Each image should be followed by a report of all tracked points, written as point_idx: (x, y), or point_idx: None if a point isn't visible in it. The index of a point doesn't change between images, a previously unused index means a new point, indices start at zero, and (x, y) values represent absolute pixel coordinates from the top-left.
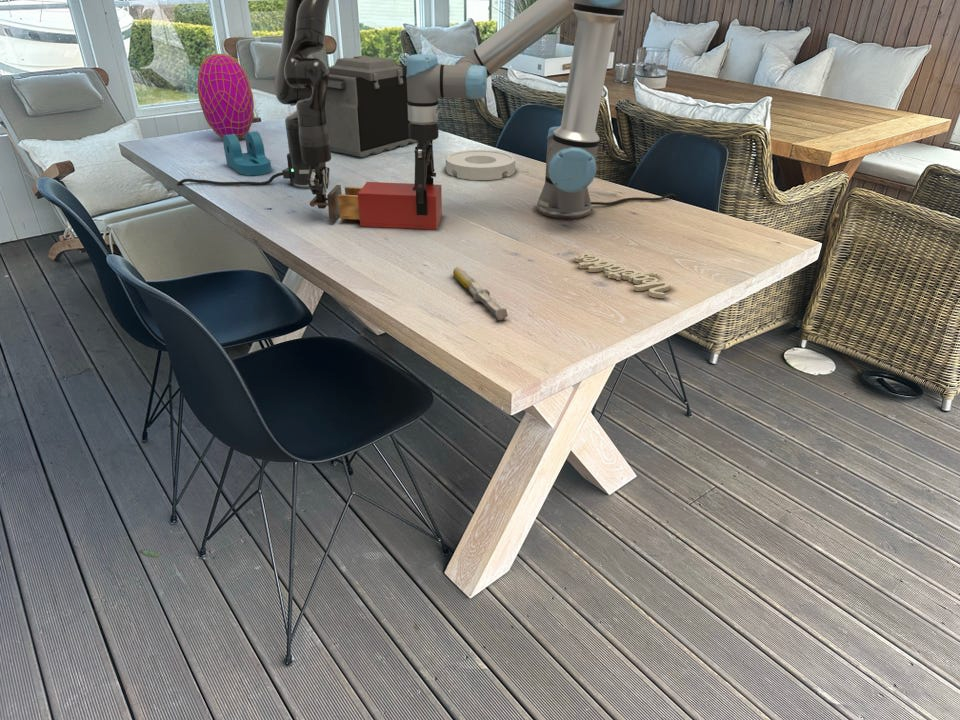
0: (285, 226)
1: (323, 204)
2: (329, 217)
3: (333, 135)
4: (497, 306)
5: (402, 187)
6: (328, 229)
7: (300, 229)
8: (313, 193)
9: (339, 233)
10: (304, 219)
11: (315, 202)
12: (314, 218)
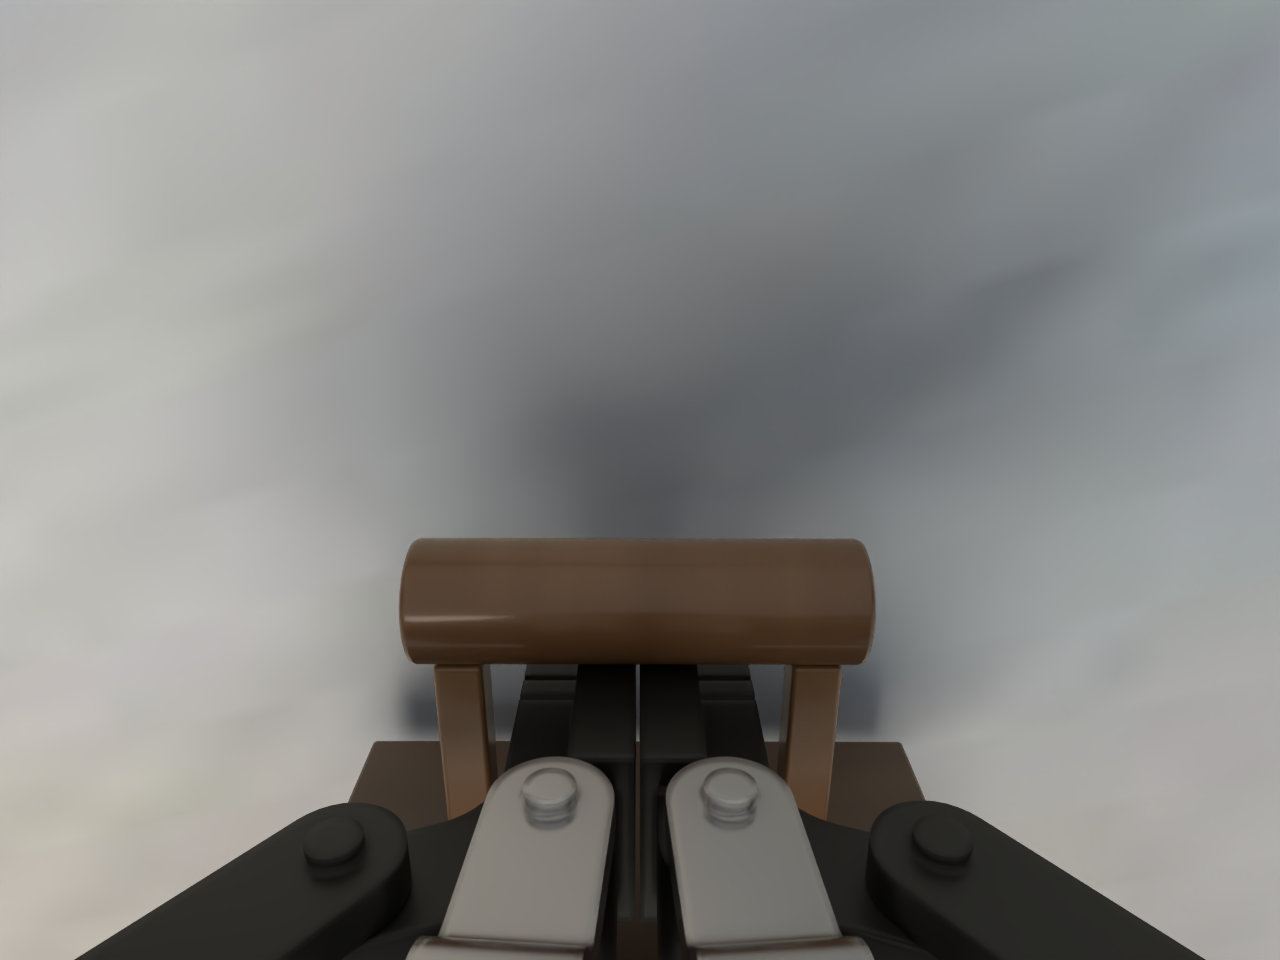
0: (138, 37)
1: (453, 798)
2: (359, 777)
3: None
4: None
5: None
6: (217, 723)
7: (87, 354)
8: (281, 855)
9: (122, 867)
10: (565, 270)
11: (481, 661)
12: (636, 419)
